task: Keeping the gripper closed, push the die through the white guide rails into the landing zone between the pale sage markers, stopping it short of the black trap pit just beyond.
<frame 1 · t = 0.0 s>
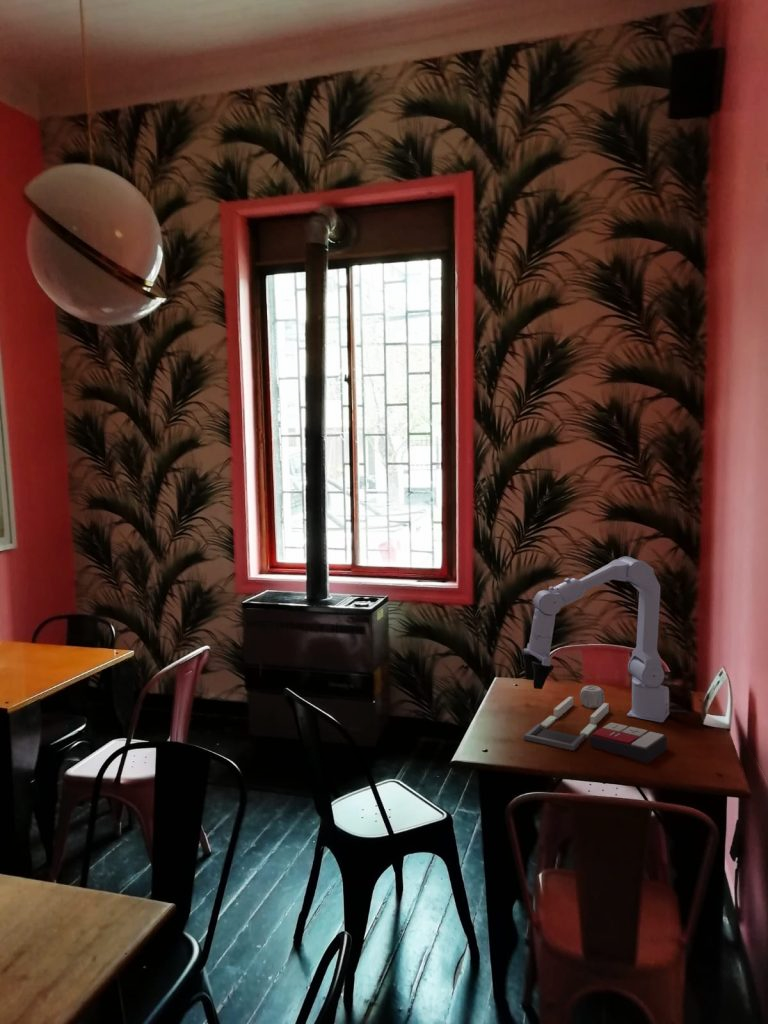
hand: (533, 683, 193), 11 cm above the table, tool pointing down, fingers open, 7 cm apart
trap pit: (555, 738, 183), on the table
white guide rails: (581, 714, 198), on the table
calculator: (627, 749, 176), on the table
die: (592, 705, 205), on the table
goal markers: (568, 726, 190), on the table
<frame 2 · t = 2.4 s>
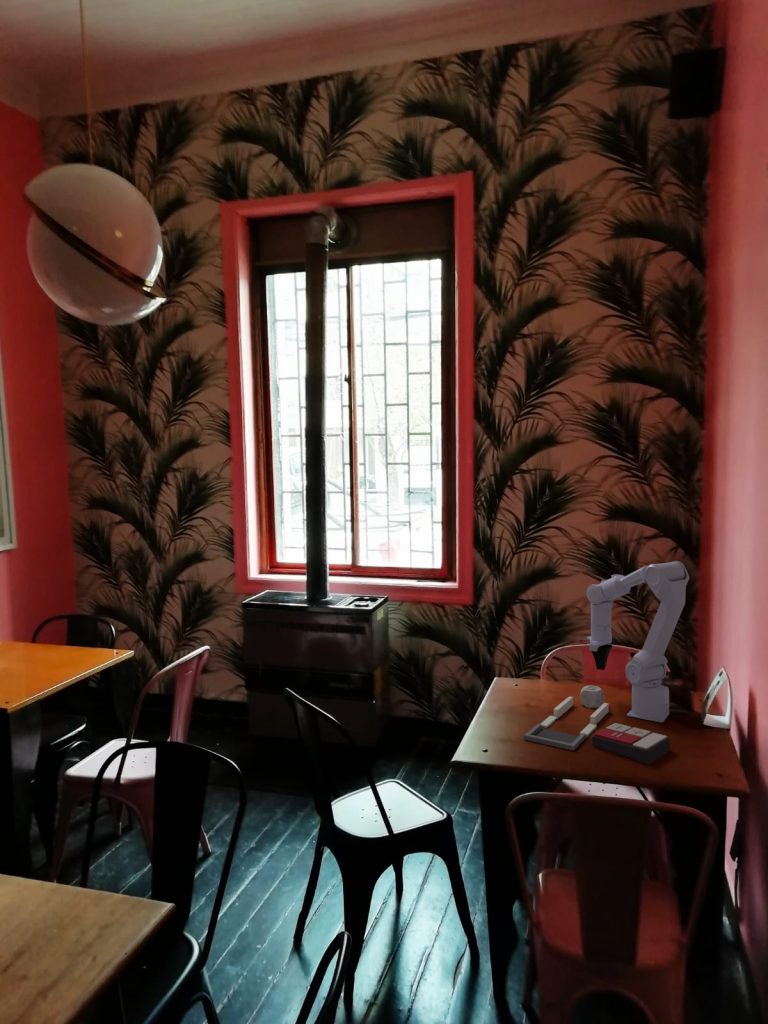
hand: (600, 669, 211), 8 cm above the table, tool pointing down, fingers closed
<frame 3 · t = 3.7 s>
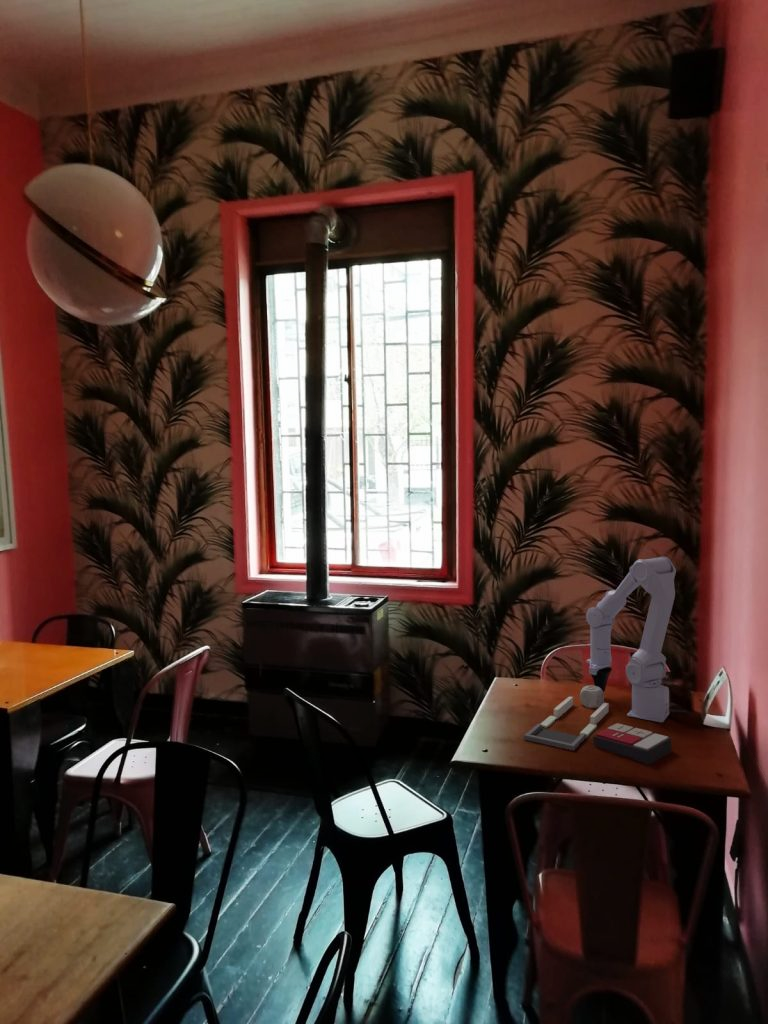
hand: (600, 691, 211), 2 cm above the table, tool pointing down, fingers closed
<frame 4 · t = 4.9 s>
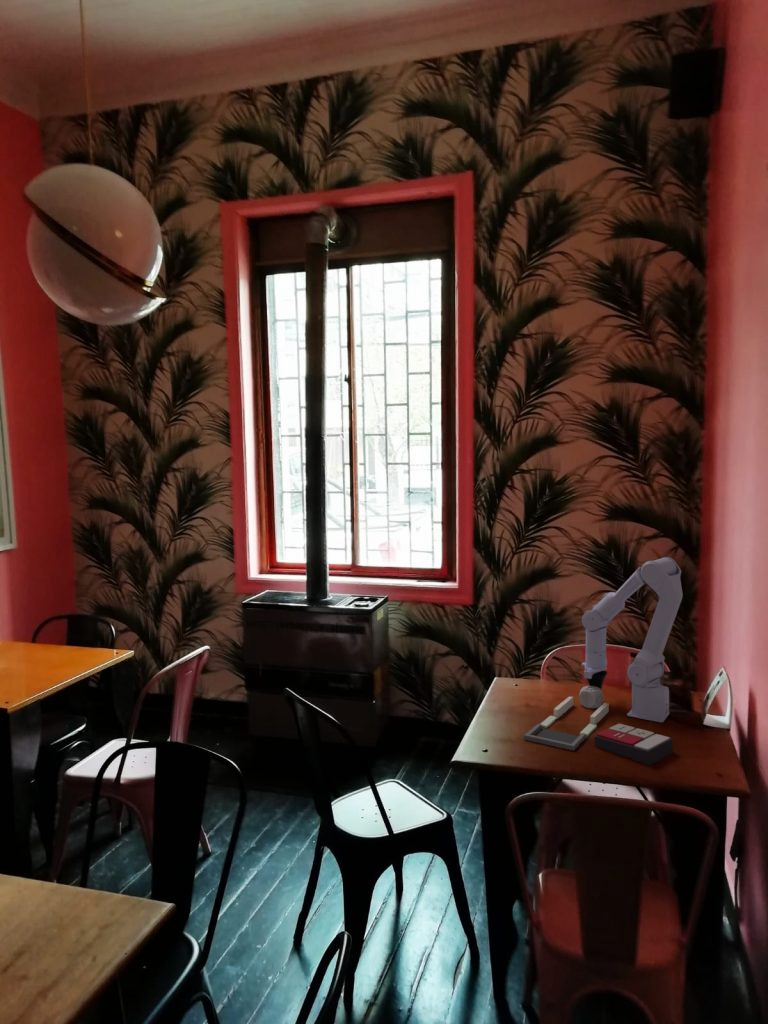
hand: (595, 695, 208), 2 cm above the table, tool pointing down, fingers closed
die: (591, 706, 205), on the table, touching gripper
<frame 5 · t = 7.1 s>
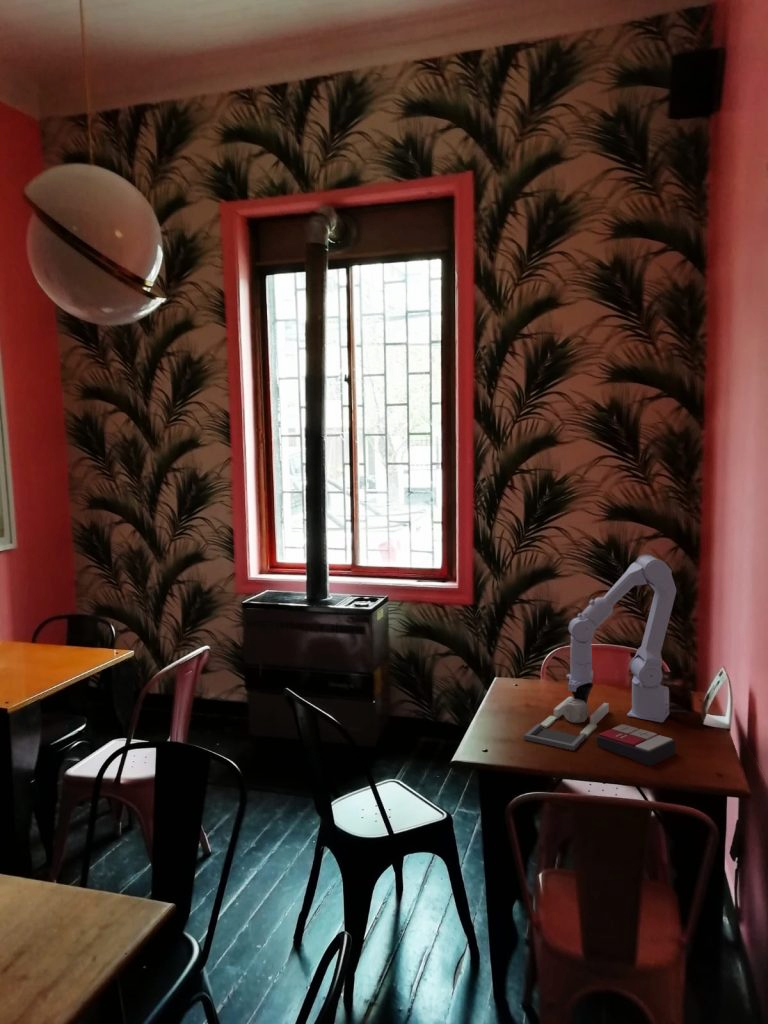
hand: (581, 709, 198), 2 cm above the table, tool pointing down, fingers closed
die: (575, 720, 195), on the table, touching gripper
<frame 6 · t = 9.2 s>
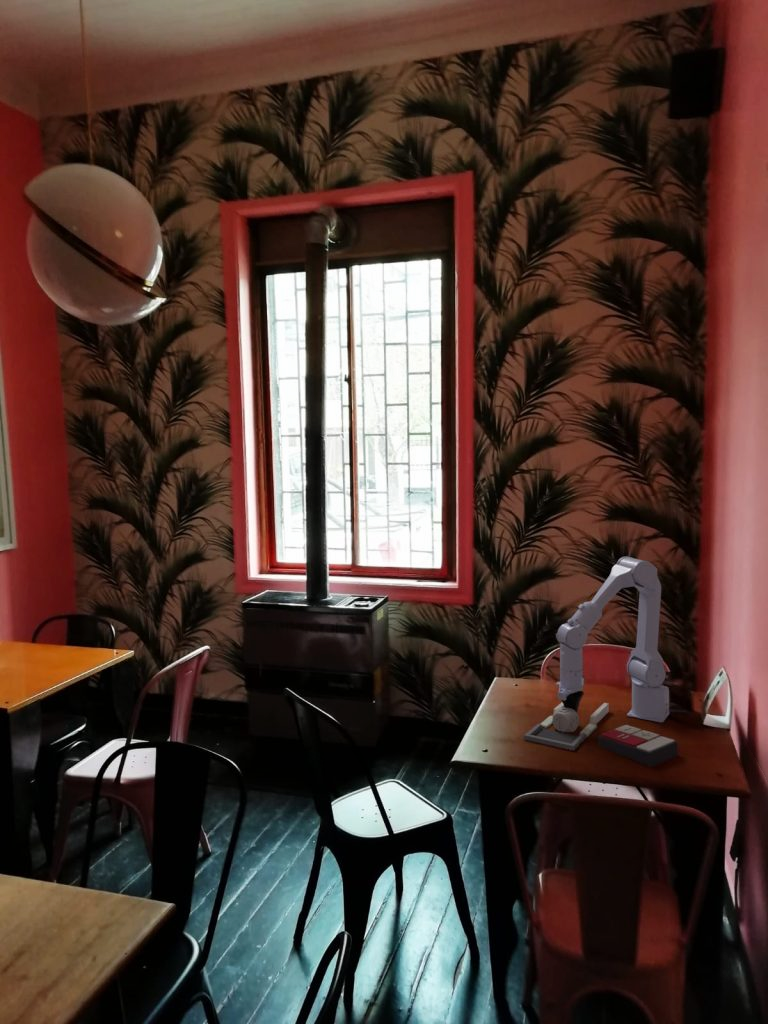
hand: (571, 718, 191), 2 cm above the table, tool pointing down, fingers closed
die: (565, 729, 188), on the table, touching gripper
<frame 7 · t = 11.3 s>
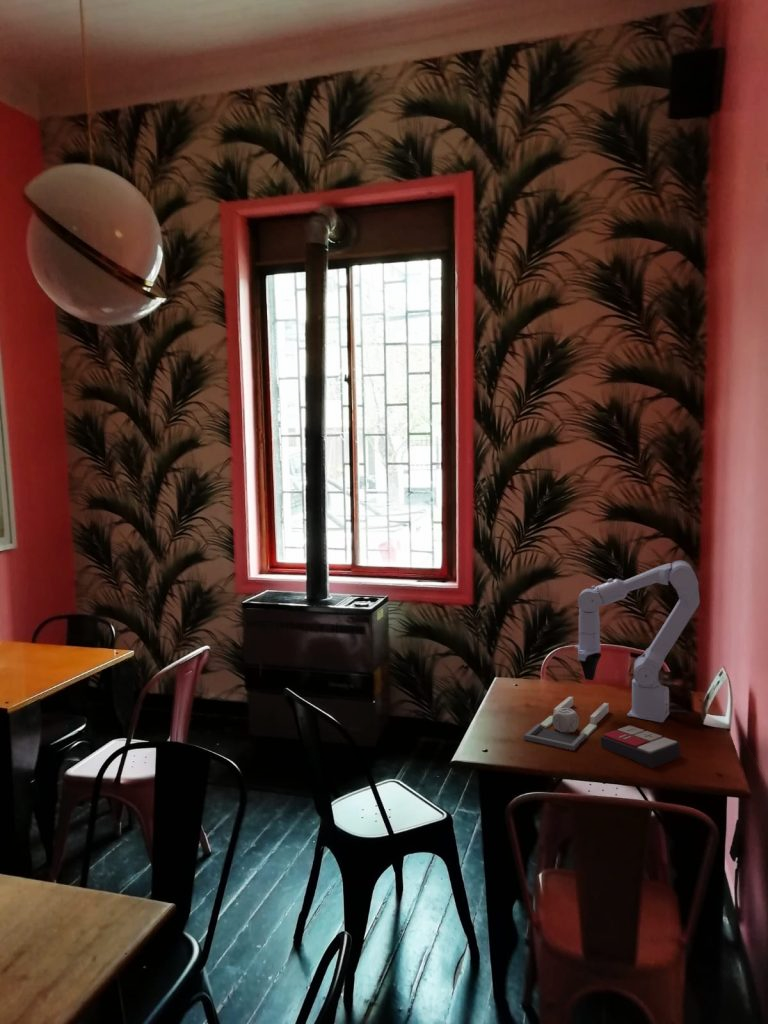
hand: (589, 679, 201), 9 cm above the table, tool pointing down, fingers closed
die: (565, 730, 188), on the table
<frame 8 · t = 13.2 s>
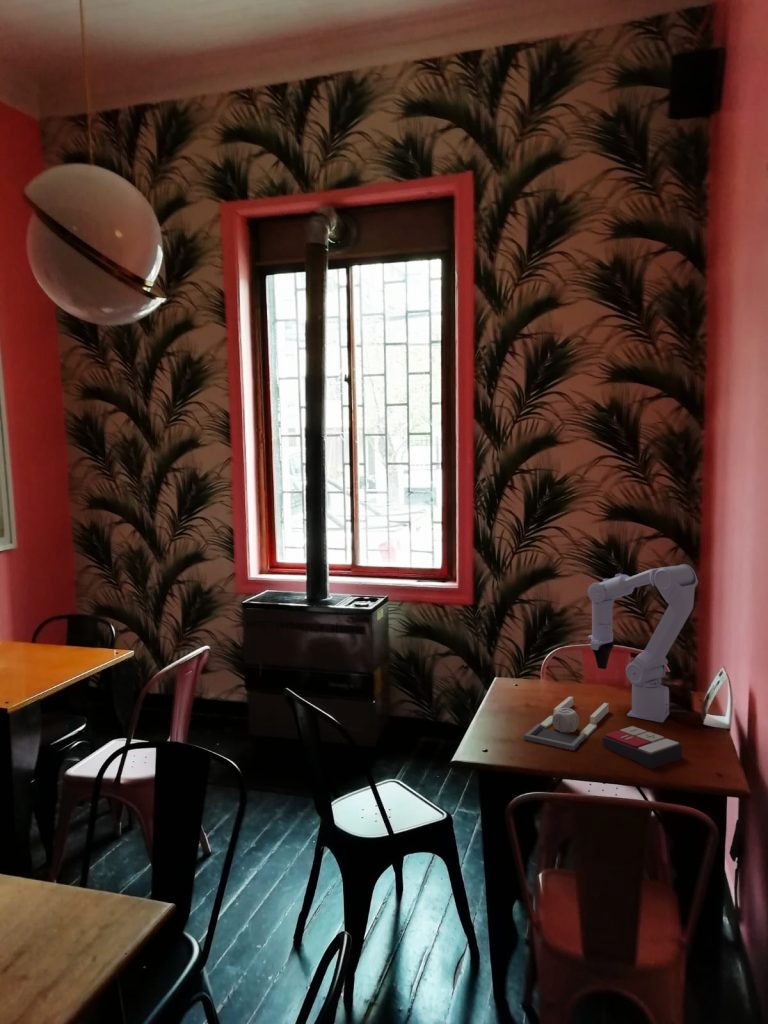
hand: (602, 668, 209), 9 cm above the table, tool pointing down, fingers closed
at the end: die inside the target area (1.6 cm from its centre), on the table; die touching table; die tilted 0° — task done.
